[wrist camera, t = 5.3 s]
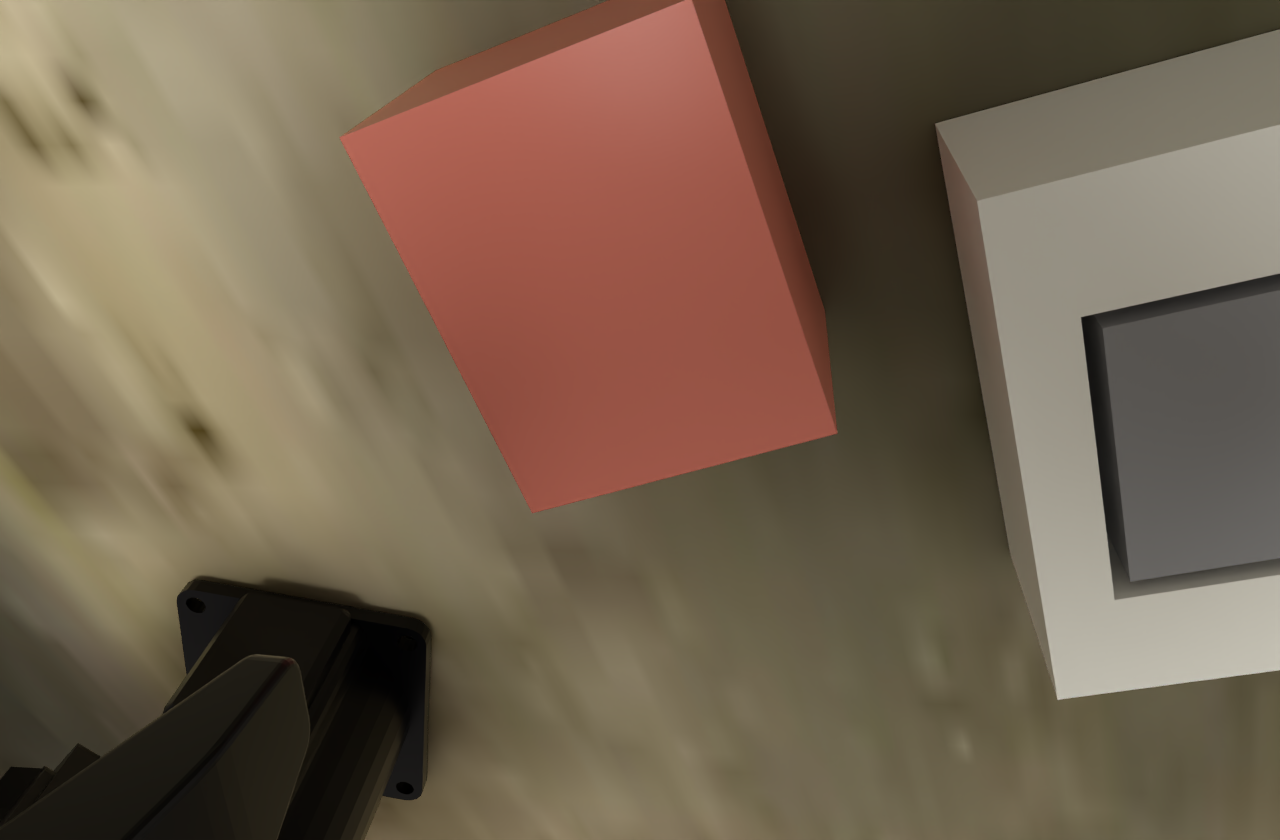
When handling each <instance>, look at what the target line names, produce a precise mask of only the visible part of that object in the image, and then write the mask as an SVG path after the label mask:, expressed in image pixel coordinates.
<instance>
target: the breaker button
mask: <svg viewBox="0 0 1280 840" xmlns="http://www.w3.org/2000/svg"><path fill="white" fill-rule="evenodd" d="M1081 322H1082V330H1083V339H1084V347H1085V355H1086V364H1087V372H1088V381H1089V389H1090V397H1091V406H1092V414H1093V423H1094V431H1095V439H1096V448H1097V456H1098V465H1099V473H1100V481H1101V490H1102V498H1103V506H1104V515H1105V523H1106V531H1107V534H1108V536H1109V538H1110V540H1111V542H1112V544H1113V546H1114V548H1115V550H1116V553H1117V555H1118V557H1119V559H1120V561H1121V563H1122V565H1123V567H1124V569H1125V572H1126V574H1127V576H1128V578H1129V580H1130V582H1132V581H1138V580H1145V579H1151V578H1157V577H1164V576H1170V575H1177V574H1183V573H1189V572H1196V571H1202V570H1208V569H1215V568H1221V567H1227V566H1234V565H1240V564H1246V563H1253V562H1259V561H1265V560H1272V559H1278V558H1280V273H1279V274H1275V275H1270V276H1266V277H1261V278H1257V279H1252V280H1247V281H1243V282H1238V283H1234V284H1229V285H1225V286H1220V287H1216V288H1211V289H1206V290H1202V291H1197V292H1193V293H1188V294H1184V295H1179V296H1175V297H1170V298H1166V299H1161V300H1156V301H1152V302H1147V303H1143V304H1138V305H1134V306H1129V307H1125V308H1120V309H1116V310H1111V311H1106V312H1102V313H1097V314H1093V315H1088V316H1084V317H1081Z"/></svg>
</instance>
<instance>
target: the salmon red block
mask: <svg viewBox="0 0 1280 840" xmlns="http://www.w3.org/2000/svg"><path fill="white" fill-rule="evenodd" d="M339 138H340V140H341V142H342V143H343V145H344V147H345V149H346V151H347V153H348V155H349V157H350V159H351V161H352V163H353V165H354V167H355V169H356V171H357V173H358V175H359V177H360V179H361V180H362V182H363V184H364V186H365V188H366V190H367V192H368V194H369V196H370V198H371V200H372V202H373V204H374V206H375V208H376V210H377V212H378V214H379V216H380V218H381V219H382V221H383V223H384V225H385V227H386V229H387V231H388V233H389V235H390V237H391V239H392V241H393V243H394V245H395V247H396V249H397V251H398V253H399V255H400V256H401V258H402V260H403V262H404V264H405V266H406V268H407V270H408V272H409V274H410V276H411V278H412V280H413V282H414V284H415V286H416V288H417V290H418V292H419V293H420V295H421V297H422V299H423V301H424V303H425V305H426V307H427V309H428V311H429V313H430V315H431V317H432V319H433V321H434V323H435V325H436V327H437V329H438V331H439V332H440V334H441V336H442V338H443V340H444V342H445V344H446V346H447V348H448V350H449V352H450V354H451V356H452V358H453V360H454V362H455V364H456V366H457V368H458V369H459V371H460V373H461V375H462V377H463V379H464V381H465V383H466V385H467V387H468V389H469V391H470V393H471V395H472V397H473V399H474V401H475V403H476V405H477V407H478V408H479V410H480V412H481V414H482V416H483V418H484V420H485V422H486V424H487V426H488V428H489V430H490V432H491V434H492V436H493V438H494V440H495V442H496V444H497V445H498V447H499V449H500V451H501V453H502V455H503V457H504V459H505V461H506V463H507V465H508V467H509V469H510V471H511V473H512V475H513V477H514V479H515V481H516V482H517V484H518V486H519V488H520V490H521V492H522V494H523V496H524V498H525V500H526V502H527V504H528V506H529V508H530V510H531V512H532V513H535V512H539V511H543V510H547V509H551V508H554V507H558V506H562V505H566V504H570V503H574V502H577V501H581V500H585V499H589V498H593V497H596V496H600V495H604V494H608V493H612V492H616V491H619V490H623V489H627V488H631V487H635V486H639V485H642V484H646V483H650V482H654V481H658V480H662V479H665V478H669V477H673V476H677V475H681V474H685V473H688V472H692V471H696V470H700V469H704V468H708V467H711V466H715V465H719V464H723V463H727V462H731V461H734V460H738V459H742V458H746V457H750V456H754V455H757V454H761V453H765V452H769V451H773V450H776V449H780V448H784V447H788V446H792V445H796V444H799V443H803V442H807V441H811V440H815V439H819V438H822V437H826V436H830V435H834V434H837V425H836V415H835V405H834V395H833V385H832V375H831V365H830V355H829V346H828V336H827V326H826V316H825V310H824V307H823V303H822V300H821V297H820V294H819V291H818V288H817V285H816V282H815V279H814V275H813V272H812V269H811V266H810V263H809V260H808V257H807V254H806V251H805V248H804V244H803V241H802V238H801V235H800V232H799V229H798V226H797V223H796V220H795V216H794V213H793V210H792V207H791V204H790V201H789V198H788V195H787V192H786V188H785V185H784V182H783V179H782V176H781V173H780V170H779V167H778V164H777V161H776V157H775V154H774V151H773V148H772V145H771V142H770V139H769V136H768V133H767V129H766V126H765V123H764V120H763V117H762V114H761V111H760V108H759V105H758V101H757V98H756V95H755V92H754V89H753V86H752V83H751V80H750V77H749V74H748V70H747V67H746V64H745V61H744V58H743V55H742V52H741V49H740V46H739V42H738V39H737V36H736V33H735V30H734V27H733V24H732V21H731V18H730V14H729V11H728V8H727V5H726V2H725V0H608V1H606V2H603V3H601V4H598V5H596V6H593V7H591V8H589V9H586V10H584V11H581V12H579V13H576V14H574V15H571V16H569V17H566V18H564V19H561V20H559V21H556V22H554V23H552V24H549V25H547V26H544V27H542V28H539V29H537V30H534V31H532V32H529V33H527V34H524V35H522V36H520V37H517V38H515V39H512V40H510V41H507V42H505V43H502V44H500V45H497V46H495V47H492V48H490V49H488V50H485V51H483V52H480V53H478V54H475V55H473V56H470V57H468V58H465V59H463V60H460V61H458V62H456V63H453V64H451V65H448V66H446V67H443V68H441V69H438V70H436V71H434V72H433V73H431V74H430V75H428V76H427V77H425V78H424V79H423V80H421V81H420V82H418V83H417V84H415V85H414V86H413V87H411V88H410V89H408V90H407V91H405V92H404V93H403V94H401V95H400V96H398V97H397V98H395V99H394V100H392V101H391V102H390V103H388V104H387V105H385V106H384V107H382V108H381V109H380V110H378V111H377V112H375V113H374V114H372V115H371V116H370V117H368V118H367V119H365V120H364V121H362V122H361V123H360V124H358V125H357V126H355V127H354V128H352V129H351V130H350V131H348V132H347V133H345V134H344V135H342V136H341V137H339Z"/></svg>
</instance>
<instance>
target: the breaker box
mask: <svg viewBox="0 0 1280 840" xmlns="http://www.w3.org/2000/svg"><path fill="white" fill-rule="evenodd" d="M935 128H936V133H937V139H938V145H939V150H940V156H941V162H942V168H943V173H944V179H945V185H946V190H947V196H948V202H949V208H950V213H951V219H952V225H953V230H954V236H955V242H956V248H957V253H958V259H959V265H960V270H961V276H962V282H963V288H964V293H965V299H966V305H967V310H968V316H969V322H970V328H971V333H972V339H973V345H974V350H975V356H976V362H977V368H978V373H979V379H980V385H981V390H982V396H983V402H984V408H985V413H986V419H987V425H988V431H989V436H990V442H991V448H992V453H993V459H994V465H995V471H996V476H997V482H998V488H999V493H1000V499H1001V505H1002V511H1003V516H1004V522H1005V528H1006V533H1007V539H1008V545H1009V551H1010V555H1011V558H1012V561H1013V564H1014V567H1015V570H1016V573H1017V577H1018V580H1019V583H1020V586H1021V589H1022V592H1023V595H1024V598H1025V601H1026V604H1027V607H1028V610H1029V613H1030V616H1031V620H1032V623H1033V626H1034V629H1035V632H1036V635H1037V638H1038V641H1039V644H1040V647H1041V650H1042V653H1043V656H1044V659H1045V663H1046V666H1047V669H1048V672H1049V675H1050V678H1051V681H1052V684H1053V687H1054V690H1055V693H1056V696H1057V699H1058V700H1059V699H1067V698H1074V697H1082V696H1089V695H1097V694H1104V693H1112V692H1119V691H1127V690H1134V689H1142V688H1149V687H1157V686H1164V685H1172V684H1179V683H1187V682H1194V681H1202V680H1209V679H1217V678H1224V677H1232V676H1239V675H1247V674H1254V673H1262V672H1269V671H1277V670H1280V558H1278V559H1272V560H1265V561H1259V562H1253V563H1246V564H1240V565H1234V566H1227V567H1221V568H1215V569H1208V570H1202V571H1196V572H1189V573H1183V574H1177V575H1170V576H1164V577H1157V578H1151V579H1145V580H1138V581H1132V582H1130V580H1129V578H1128V576H1127V574H1126V572H1125V569H1124V567H1123V565H1122V563H1121V561H1120V559H1119V557H1118V555H1117V553H1116V550H1115V548H1114V546H1113V544H1112V542H1111V540H1110V538H1109V536H1108V534H1107V531H1106V523H1105V515H1104V506H1103V498H1102V490H1101V481H1100V473H1099V465H1098V456H1097V448H1096V439H1095V431H1094V423H1093V414H1092V406H1091V397H1090V389H1089V381H1088V372H1087V364H1086V355H1085V347H1084V339H1083V330H1082V322H1081V317H1084V316H1088V315H1093V314H1097V313H1102V312H1106V311H1111V310H1116V309H1120V308H1125V307H1129V306H1134V305H1138V304H1143V303H1147V302H1152V301H1156V300H1161V299H1166V298H1170V297H1175V296H1179V295H1184V294H1188V293H1193V292H1197V291H1202V290H1206V289H1211V288H1216V287H1220V286H1225V285H1229V284H1234V283H1238V282H1243V281H1247V280H1252V279H1257V278H1261V277H1266V276H1270V275H1275V274H1279V273H1280V29H1279V30H1275V31H1271V32H1268V33H1264V34H1260V35H1257V36H1253V37H1249V38H1246V39H1242V40H1238V41H1235V42H1231V43H1228V44H1224V45H1220V46H1217V47H1213V48H1209V49H1206V50H1202V51H1198V52H1195V53H1191V54H1187V55H1184V56H1180V57H1176V58H1173V59H1169V60H1165V61H1162V62H1158V63H1154V64H1151V65H1147V66H1143V67H1140V68H1136V69H1132V70H1129V71H1125V72H1121V73H1118V74H1114V75H1110V76H1107V77H1103V78H1099V79H1096V80H1092V81H1089V82H1085V83H1081V84H1078V85H1074V86H1070V87H1067V88H1063V89H1059V90H1056V91H1052V92H1048V93H1045V94H1041V95H1037V96H1034V97H1030V98H1026V99H1023V100H1019V101H1015V102H1012V103H1008V104H1004V105H1001V106H997V107H993V108H990V109H986V110H982V111H979V112H975V113H971V114H968V115H964V116H960V117H957V118H953V119H950V120H946V121H942V122H939V123H935Z"/></svg>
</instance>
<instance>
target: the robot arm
mask: <svg viewBox="0 0 1280 840" xmlns="http://www.w3.org/2000/svg"><path fill="white" fill-rule="evenodd" d="M197 598H198V599H200V600H201V601H202V602H201V601H199V600H198V599H197ZM177 607H178V614H179V622H180V629H181V636H182V643H183V651H184V658H185V665H186V673H187V676H186V677H185V679H184V680H183V682H182V683H181V685H180V686H179V687H178V689H177V690H176V692H175V693H174V695H173V696H172V698H171V699H170V700H169V702H168V703H167V705H166V706H165V708H164V711H163V714H162V715H161V716H160V717H158V718H157V719H155V720H154V721H153V722H151V723H150V724H148V725H147V726H145V727H144V728H142V729H141V730H140V731H138V732H137V733H135V734H134V735H132V736H131V737H130V738H128V739H127V740H125V741H124V742H122V743H121V744H119V745H118V746H117V747H115V748H114V749H112V750H111V751H109V752H108V753H106V754H105V755H104V756H102V757H101V758H100V756H99V755H97V754H96V753H94V752H92V751H91V750H89V749H87V748H86V747H84V746H82V745H81V744H79V743H78V744H77V745H76V746H75V747H74V748H73V749H72V751H71V752H70V753H69V754H68V755H67V756H66V757H65V758H64V760H63V761H62V762H61V763H60V764H59V765H58V766H57V767H56V769H55V770H54V771H53V770H51V769H49V768H48V767H46V766H44V767H43V768H42V769H40V768H22V767H10V768H9V770H8V771H7V772H6V773H5V774H4V776H3V777H2V778H1V779H0V840H364V839H365V837H366V834H367V832H368V829H369V827H370V825H371V822H372V820H373V817H374V815H375V812H376V810H377V807H378V805H379V802H380V800H381V797H382V796H386V797H392V798H397V799H403V800H414V799H417V798H418V797H420V796H421V794H422V791H423V788H424V786H425V783H426V780H427V749H428V717H429V686H430V654H431V633H430V630H429V628H428V627H427V626H426V624H424V623H423V622H421V621H420V620H417V619H414V618H411V617H405V616H399V615H394V614H388V613H383V612H377V611H371V610H366V609H360V608H355V607H349V606H343V605H338V604H332V603H327V602H321V601H315V600H310V599H304V598H299V597H293V596H287V595H282V594H276V593H271V592H265V591H259V590H254V589H248V588H243V587H237V586H231V585H226V584H220V583H215V582H209V581H203V580H193V581H191V582H189V583H188V584H187V585H186V586H185V587H184V589H183V590H182V591H181V593H180V594H179V595H178V596H177ZM405 636H410V637H412V638H413V639H414V640H411V639H408V638H406V637H405Z"/></svg>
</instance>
